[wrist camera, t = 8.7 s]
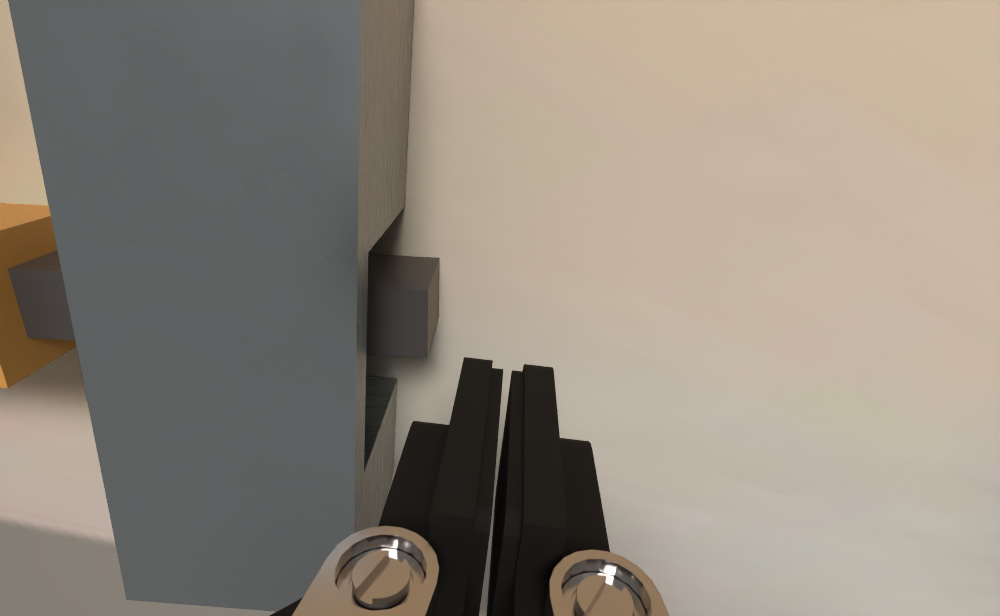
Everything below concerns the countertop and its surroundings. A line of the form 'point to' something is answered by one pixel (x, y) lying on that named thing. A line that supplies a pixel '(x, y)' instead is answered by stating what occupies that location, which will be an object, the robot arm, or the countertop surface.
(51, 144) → the housing
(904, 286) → the countertop surface
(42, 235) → the plug
